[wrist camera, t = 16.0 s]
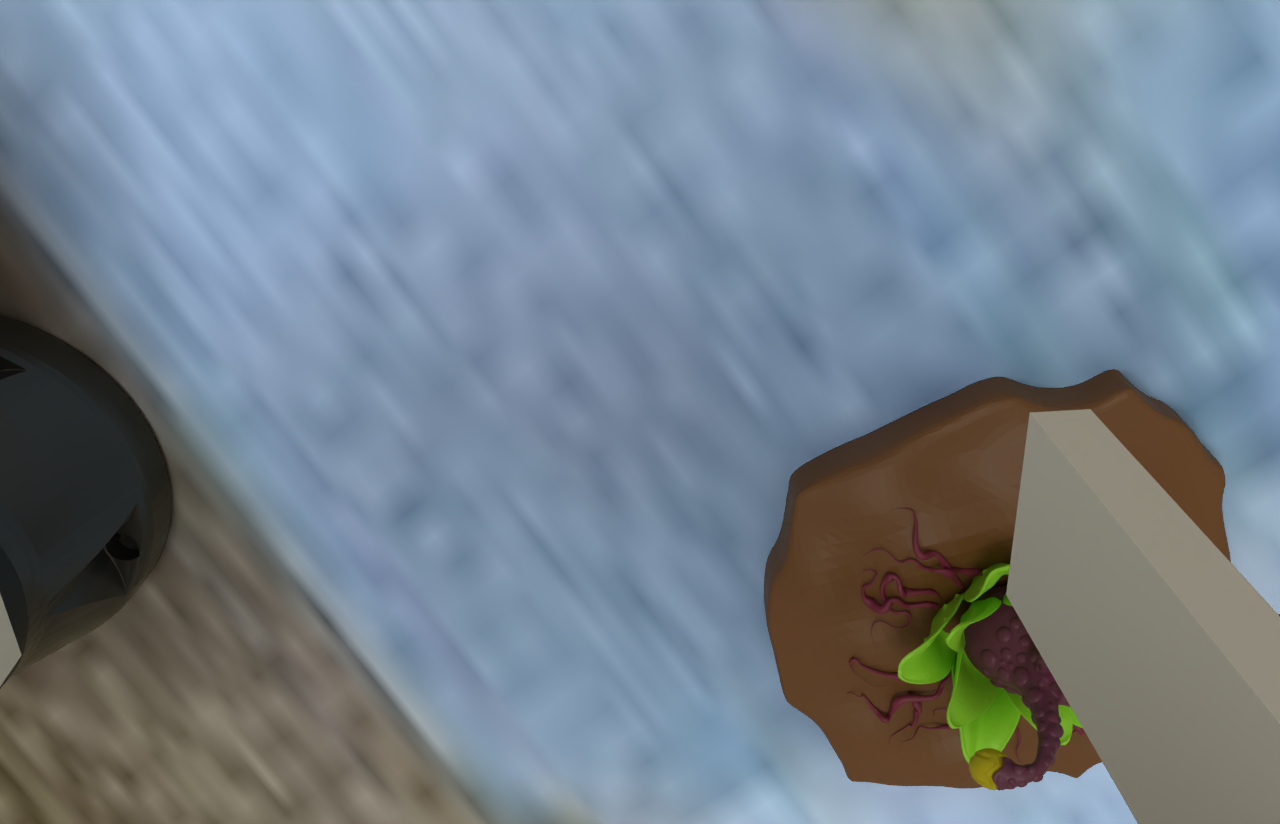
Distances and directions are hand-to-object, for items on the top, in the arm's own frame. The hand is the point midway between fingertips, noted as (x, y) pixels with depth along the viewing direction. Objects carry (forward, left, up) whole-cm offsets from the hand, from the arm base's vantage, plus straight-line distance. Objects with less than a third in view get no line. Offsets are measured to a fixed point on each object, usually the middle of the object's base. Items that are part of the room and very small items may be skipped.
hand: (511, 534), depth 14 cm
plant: (+4, -26, -30) cm, 40 cm away
